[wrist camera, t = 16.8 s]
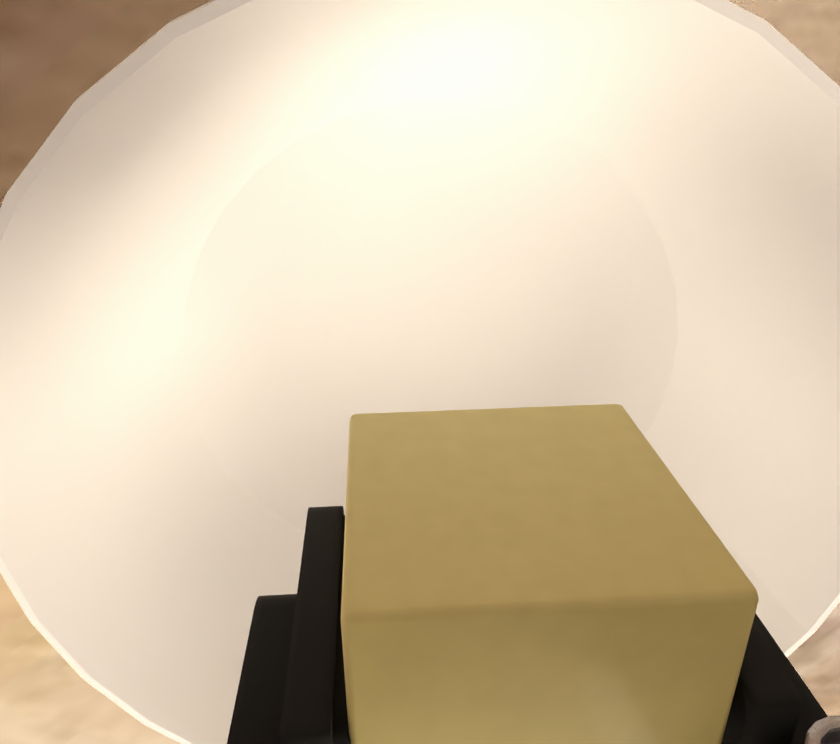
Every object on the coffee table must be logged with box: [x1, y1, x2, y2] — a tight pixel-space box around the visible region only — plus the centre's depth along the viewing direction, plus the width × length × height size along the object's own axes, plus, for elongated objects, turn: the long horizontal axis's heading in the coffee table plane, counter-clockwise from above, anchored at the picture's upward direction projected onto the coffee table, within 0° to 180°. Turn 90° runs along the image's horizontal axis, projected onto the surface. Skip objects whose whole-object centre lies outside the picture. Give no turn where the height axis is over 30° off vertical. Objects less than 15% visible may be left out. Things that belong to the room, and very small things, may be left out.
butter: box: [341, 404, 759, 744], centre depth 9 cm, size 6×4×4 cm, turn 0°
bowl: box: [0, 0, 840, 744], centre depth 16 cm, size 18×18×7 cm
